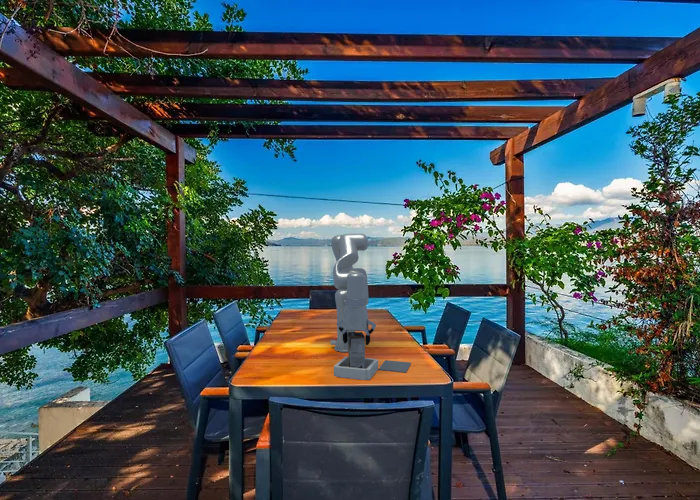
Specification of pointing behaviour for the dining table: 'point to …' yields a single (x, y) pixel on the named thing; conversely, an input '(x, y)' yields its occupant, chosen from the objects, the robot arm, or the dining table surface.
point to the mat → (395, 366)
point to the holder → (356, 369)
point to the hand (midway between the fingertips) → (356, 343)
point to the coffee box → (356, 349)
